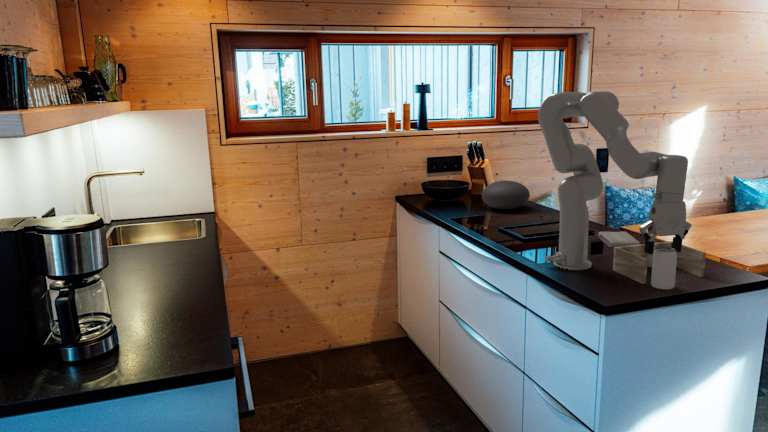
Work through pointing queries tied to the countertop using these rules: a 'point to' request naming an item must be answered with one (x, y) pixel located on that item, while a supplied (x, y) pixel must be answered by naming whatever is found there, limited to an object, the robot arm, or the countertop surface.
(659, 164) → the robot arm
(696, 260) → the wooden u-shaped stand
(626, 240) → the washcloth
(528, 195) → the flattened ellipsoid
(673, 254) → the can
